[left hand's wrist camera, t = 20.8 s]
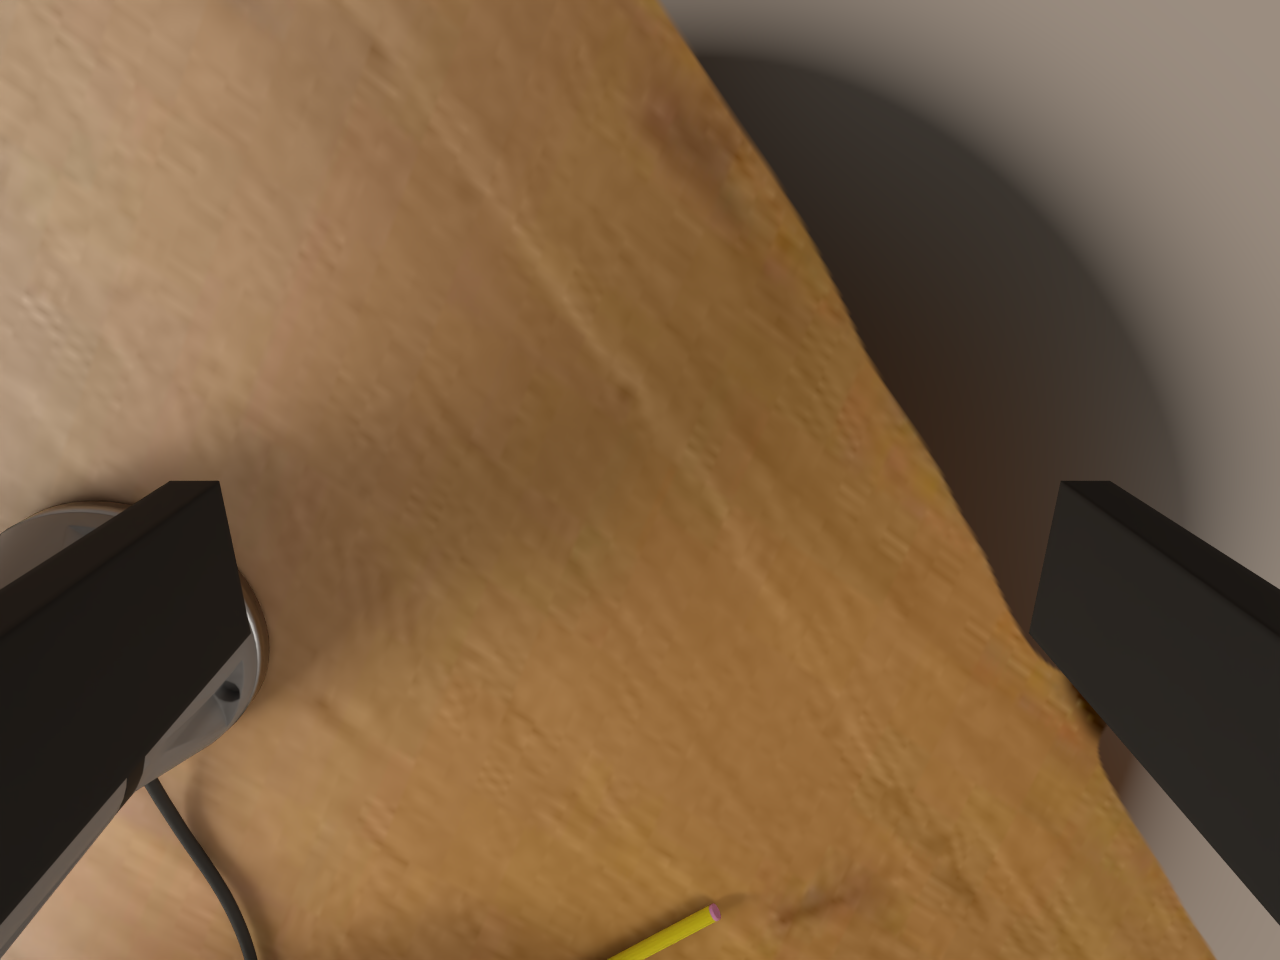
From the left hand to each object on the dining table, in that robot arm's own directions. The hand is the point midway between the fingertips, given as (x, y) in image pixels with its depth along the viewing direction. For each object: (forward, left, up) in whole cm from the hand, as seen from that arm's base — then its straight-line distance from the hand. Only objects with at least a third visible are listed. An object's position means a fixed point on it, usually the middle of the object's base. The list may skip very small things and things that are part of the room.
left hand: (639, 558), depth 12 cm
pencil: (-38, +19, -26) cm, 50 cm away
